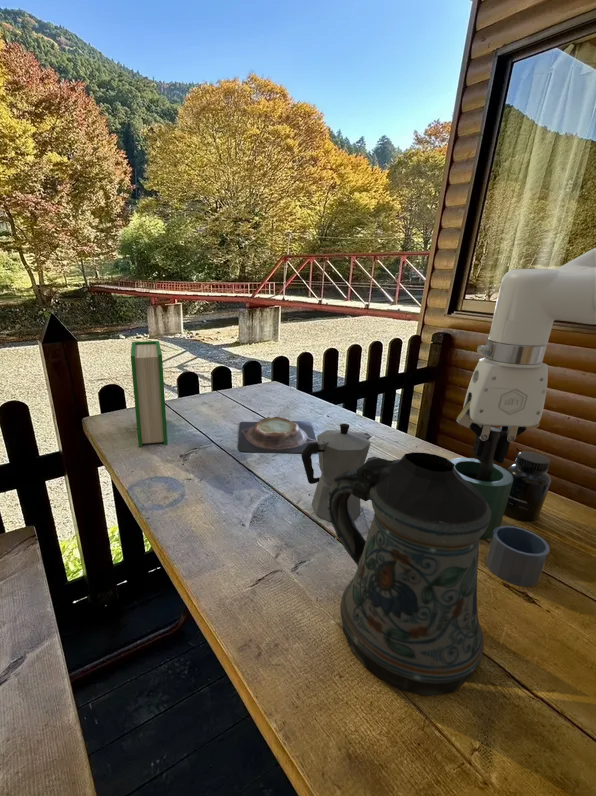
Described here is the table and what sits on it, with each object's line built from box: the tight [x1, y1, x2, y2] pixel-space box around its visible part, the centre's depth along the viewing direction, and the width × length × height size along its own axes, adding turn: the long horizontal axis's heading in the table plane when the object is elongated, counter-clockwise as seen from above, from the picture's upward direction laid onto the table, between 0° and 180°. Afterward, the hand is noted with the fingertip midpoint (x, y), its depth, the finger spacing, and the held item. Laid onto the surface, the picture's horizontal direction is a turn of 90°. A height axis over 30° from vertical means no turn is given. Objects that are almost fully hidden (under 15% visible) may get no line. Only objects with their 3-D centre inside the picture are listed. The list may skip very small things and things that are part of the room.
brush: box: [476, 426, 502, 482], centre depth 71 cm, size 4×4×16 cm
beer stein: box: [327, 451, 491, 697], centre depth 49 cm, size 16×19×25 cm
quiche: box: [237, 416, 317, 454], centre depth 111 cm, size 21×20×4 cm
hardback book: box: [130, 340, 168, 448], centre depth 110 cm, size 18×7×24 cm, turn 11°
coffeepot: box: [301, 423, 373, 523], centre depth 76 cm, size 15×9×18 cm, turn 115°
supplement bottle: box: [503, 451, 552, 523], centre depth 76 cm, size 7×7×12 cm
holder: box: [485, 525, 551, 587], centre depth 63 cm, size 7×7×6 cm
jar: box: [448, 457, 513, 540], centre depth 73 cm, size 10×10×11 cm
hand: (487, 458), depth 70 cm, fingers closed on brush, 2 cm apart
